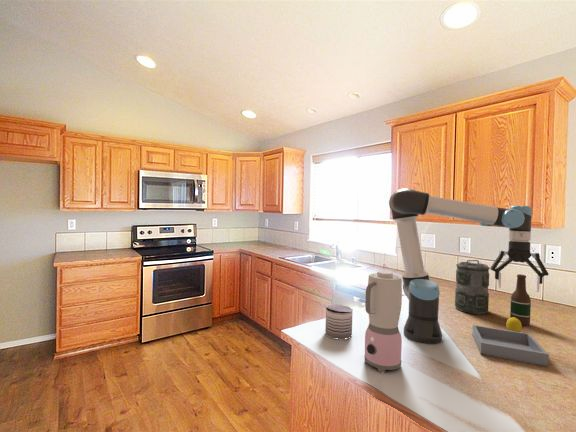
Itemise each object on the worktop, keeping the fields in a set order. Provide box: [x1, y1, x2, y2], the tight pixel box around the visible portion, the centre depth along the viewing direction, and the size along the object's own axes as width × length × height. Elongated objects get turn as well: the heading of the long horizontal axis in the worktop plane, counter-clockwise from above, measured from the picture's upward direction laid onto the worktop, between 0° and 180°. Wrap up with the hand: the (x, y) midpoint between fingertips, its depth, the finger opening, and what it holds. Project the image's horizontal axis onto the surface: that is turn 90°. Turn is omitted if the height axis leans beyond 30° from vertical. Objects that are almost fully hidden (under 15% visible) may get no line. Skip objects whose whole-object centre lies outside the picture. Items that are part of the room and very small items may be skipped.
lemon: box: [505, 317, 523, 332], centre depth 130 cm, size 6×6×8 cm
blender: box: [364, 270, 403, 373], centre depth 101 cm, size 16×12×32 cm
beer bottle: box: [509, 273, 532, 327], centre depth 145 cm, size 8×8×24 cm
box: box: [471, 324, 550, 368], centre depth 116 cm, size 20×20×4 cm
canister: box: [454, 259, 491, 315], centre depth 164 cm, size 16×16×28 cm
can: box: [324, 303, 354, 339], centre depth 126 cm, size 11×11×12 cm
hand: (517, 289), depth 129 cm, fingers open, 13 cm apart
